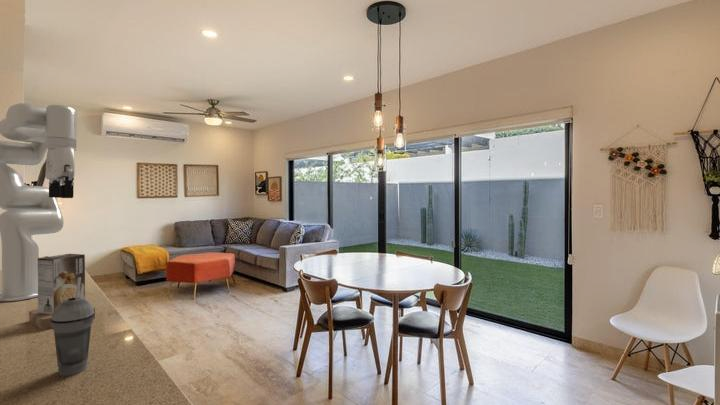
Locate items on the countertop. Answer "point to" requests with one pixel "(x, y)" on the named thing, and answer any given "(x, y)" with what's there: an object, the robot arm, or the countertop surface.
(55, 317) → the beverage cup
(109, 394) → the countertop surface
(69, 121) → the robot arm
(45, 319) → the walnut base
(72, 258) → the coffee box
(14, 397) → the countertop surface
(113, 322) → the countertop surface
